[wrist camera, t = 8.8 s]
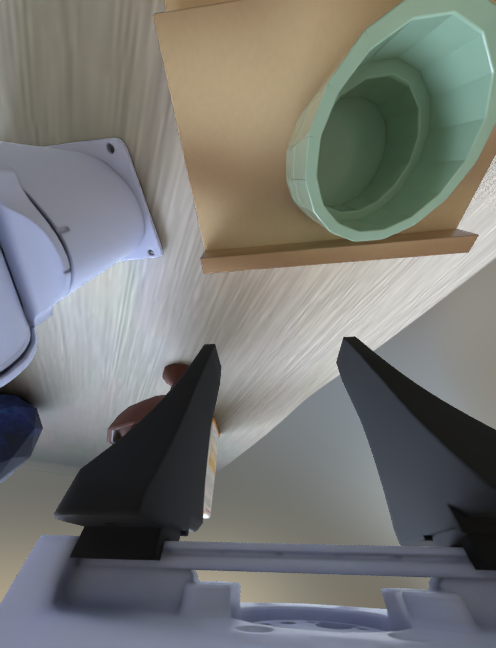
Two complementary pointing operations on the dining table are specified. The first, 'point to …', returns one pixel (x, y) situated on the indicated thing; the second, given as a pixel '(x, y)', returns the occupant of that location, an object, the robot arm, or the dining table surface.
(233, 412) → the dining table surface
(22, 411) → the decorative orb
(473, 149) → the green cup
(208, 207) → the shelf
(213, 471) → the supplement box
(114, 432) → the ice cream bowl
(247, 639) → the robot arm
